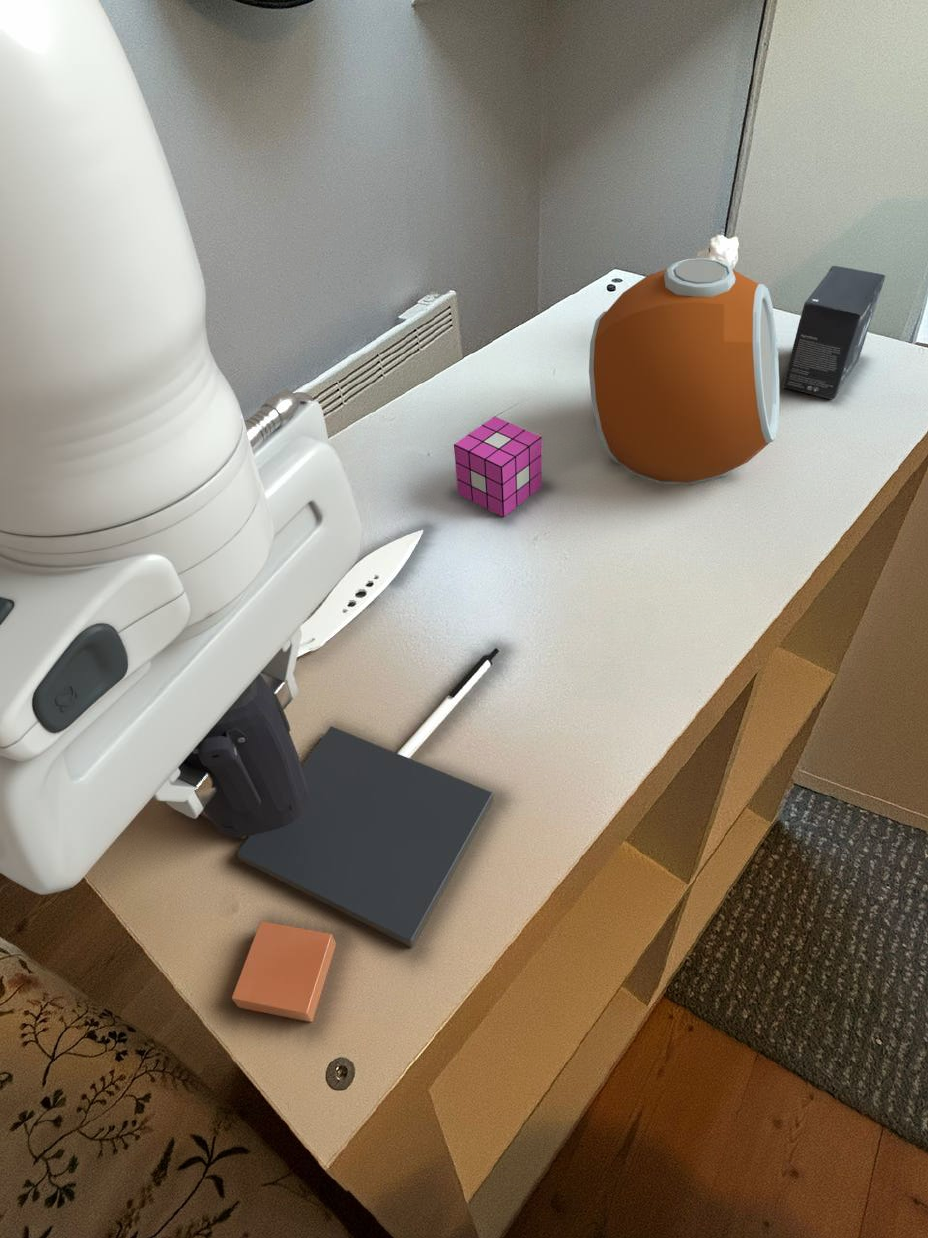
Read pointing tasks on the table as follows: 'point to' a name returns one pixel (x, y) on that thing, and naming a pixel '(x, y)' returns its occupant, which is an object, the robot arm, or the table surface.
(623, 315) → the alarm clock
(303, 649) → the knife
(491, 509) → the puzzle toy
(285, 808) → the two-way radio
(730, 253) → the white creature statuette
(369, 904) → the slate tile
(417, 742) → the pen
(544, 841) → the table surface
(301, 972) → the orange square block
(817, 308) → the box
